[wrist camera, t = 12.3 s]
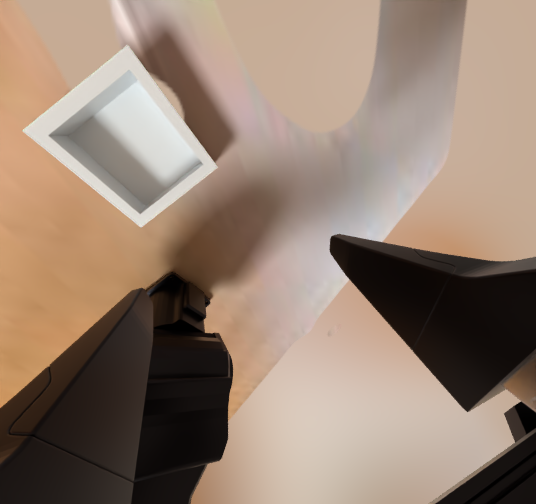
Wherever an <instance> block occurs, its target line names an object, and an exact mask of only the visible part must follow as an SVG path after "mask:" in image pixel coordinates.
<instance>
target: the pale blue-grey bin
mask: <svg viewBox="0 0 536 504" xmlns="http://www.w3.org/2000/svg"><path fill="white" fill-rule="evenodd" d="M22 131H23V132H24V133H26V134H27V135H28V136H29V137H31V138H32V139H33V140H34V141H35V142H37V143H38V144H39V145H40V146H42V147H43V148H44V149H45V150H46V151H48V152H49V153H50V154H51V155H53V156H54V157H55V158H56V159H57V160H59V161H60V162H61V163H62V164H64V165H65V166H66V167H67V168H69V169H70V170H71V171H72V172H73V173H75V174H76V175H77V176H78V177H80V178H81V179H82V180H83V181H84V182H86V183H87V184H88V185H89V186H91V187H92V188H93V189H94V190H96V191H97V192H98V193H99V194H100V195H102V196H103V197H104V198H105V199H107V200H108V201H109V202H110V203H111V204H113V205H114V206H115V207H116V208H118V209H119V210H120V211H121V212H123V213H124V214H125V215H126V216H127V217H129V218H130V219H131V220H132V221H134V222H135V223H136V224H137V225H138V226H140V227H143V226H144V225H145V224H146V223H148V222H149V221H150V220H152V219H153V218H154V217H155V216H157V215H158V214H159V213H160V212H162V211H163V210H164V209H166V208H167V207H168V206H169V205H171V204H172V203H173V202H175V201H176V200H177V199H178V198H180V197H181V196H182V195H183V194H185V193H186V192H187V191H189V190H190V189H191V188H192V187H194V186H195V185H196V184H197V183H199V182H200V181H201V180H203V179H204V178H205V177H206V176H208V175H209V174H210V173H212V172H213V171H214V170H215V169H217V168H218V167H217V165H216V164H215V163H214V161H213V160H212V159H211V157H210V156H209V155H208V153H207V152H206V150H205V149H204V148H203V146H202V145H201V144H200V142H199V141H198V140H197V138H196V137H195V136H194V134H193V133H192V131H191V130H190V129H189V127H188V126H187V125H186V123H185V122H184V121H183V119H182V118H181V117H180V115H179V114H178V113H177V111H176V110H175V108H174V107H173V106H172V104H171V103H170V102H169V100H168V99H167V98H166V96H165V95H164V94H163V92H162V91H161V89H160V88H159V87H158V85H157V84H156V83H155V81H154V80H153V78H152V77H151V76H150V74H149V73H148V72H147V70H146V69H145V68H144V66H143V65H142V64H141V62H140V61H139V59H138V58H137V57H136V55H135V54H134V53H133V51H132V50H131V49H130V47H129V46H128V45H127V46H125V47H124V48H123V49H122V50H120V51H119V52H118V53H117V54H116V55H114V56H113V57H112V58H111V59H109V60H108V61H107V62H106V63H105V64H103V65H102V66H101V67H100V68H98V69H97V70H96V71H95V72H93V73H92V74H91V75H90V76H89V77H87V78H86V79H85V80H84V81H82V82H81V83H80V84H79V85H77V86H76V87H75V88H74V89H73V90H71V91H70V92H69V93H68V94H66V95H65V96H64V97H63V98H61V99H60V100H59V101H58V102H57V103H55V104H54V105H53V106H52V107H50V108H49V109H48V110H47V111H45V112H44V113H43V114H42V115H41V116H39V117H38V118H37V119H36V120H34V121H33V122H32V123H31V124H30V125H28V126H27V127H26V128H25V129H23V130H22Z"/></svg>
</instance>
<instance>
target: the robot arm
mask: <svg viewBox="0 0 536 504" xmlns="http://www.w3.org/2000/svg"><path fill="white" fill-rule="evenodd" d="M330 253H331V255H332V256H333V258H334V259H335V261H336V262H337V263H338V265H339V266H340V268H341V269H342V270H343V272H344V273H345V275H346V276H347V277H348V278H349V279H350V280H351V282H352V283H353V284H354V285H355V286H356V287H357V288H358V290H359V291H360V292H361V293H362V294H363V295H364V296H365V297H366V299H367V300H368V301H369V302H370V303H371V304H372V305H373V307H374V308H375V309H376V310H377V311H378V312H379V313H380V314H381V315H382V317H383V318H384V319H385V320H386V321H387V322H388V324H389V325H390V326H391V327H392V328H393V329H394V330H395V331H396V333H397V334H398V335H399V336H400V337H401V338H402V339H403V341H405V343H406V344H407V345H408V346H409V347H410V349H411V350H413V352H414V353H415V354H416V356H417V357H418V358H419V359H420V360H421V361H422V362H423V363H424V365H425V366H426V367H427V368H428V369H429V370H430V371H431V373H432V374H433V375H434V376H435V377H436V378H437V379H438V380H439V382H440V383H441V384H442V385H443V386H444V387H445V388H446V390H447V391H448V392H449V393H450V394H451V395H452V396H453V398H454V399H455V400H456V401H457V402H458V403H459V404H460V405H461V406H462V408H464V409H465V410H466V411H467V412H469V411H471V410H472V409H474V408H476V407H477V406H479V405H481V404H482V403H484V402H486V401H487V400H489V399H490V398H492V397H494V396H495V395H497V394H499V393H500V392H502V391H504V390H505V389H507V390H508V391H509V392H511V393H512V394H513V395H514V396H516V397H517V398H518V399H519V400H521V402H520V403H518V404H516V405H515V406H513V407H512V408H511V409H509V410H508V411H507V412H505V413H504V415H505V417H506V420H507V422H508V425H509V427H510V430H511V433H512V435H513V437H514V440H515V443H514V444H513V445H511V446H510V447H508V448H507V449H506V450H504V451H503V452H501V453H500V454H498V455H497V456H496V457H494V458H493V459H492V460H490V461H489V462H487V463H486V464H484V465H483V466H482V467H480V468H479V469H477V470H476V471H474V472H473V473H472V474H470V475H469V476H467V477H466V478H465V479H463V480H462V481H460V482H459V483H458V484H456V485H455V486H453V487H452V488H450V489H449V490H447V491H446V492H445V493H443V494H442V495H440V496H439V497H438V498H436V499H435V500H433V501H432V502H430V503H429V504H536V257H533V258H527V259H522V260H516V261H503V262H501V261H488V260H481V259H475V258H468V257H461V256H454V255H448V254H442V253H436V252H430V251H424V250H420V249H412V248H408V247H404V246H398V245H393V244H387V243H383V242H378V241H373V240H367V239H362V238H357V237H352V236H347V235H341V234H337V235H333V236H332V237H331V239H330ZM171 276H173V277H174V278H170V277H171ZM206 301H207V302H206ZM209 304H210V299H209V298H208V297H207V296H205V295H204V293H203V292H202V291H201V290H200V289H198V288H197V287H196V286H194V285H193V284H192V283H190V282H187V281H185V280H184V279H183V278H181V277H180V276H179V275H177V274H176V273H173V272H171V273H169V274H167V275H166V276H165V277H164V278H162V279H161V280H160V281H158V282H157V283H156V284H155V285H153V286H152V287H151V288H149V289H148V290H147V291H145V289H143V288H139V289H136V290H132V291H131V292H130V293H129V294H127V295H126V296H125V297H124V298H123V299H122V300H121V301H120V302H119V303H117V304H116V305H115V306H114V307H113V308H112V309H111V310H110V311H109V312H107V313H106V314H105V315H104V316H103V317H102V318H101V319H100V320H99V321H98V322H96V323H95V324H94V325H93V326H92V327H91V328H90V329H89V330H88V331H86V332H85V333H84V334H83V335H82V336H81V337H80V338H79V339H78V340H77V341H75V342H74V343H73V344H72V345H71V346H70V347H69V348H68V349H67V350H65V351H64V352H63V353H62V354H61V355H60V356H59V357H58V358H57V359H56V360H54V361H53V362H52V363H51V364H50V367H47V368H45V369H44V370H43V371H42V372H41V373H40V374H39V375H38V376H37V377H36V378H34V379H33V380H32V381H31V382H30V383H29V384H28V385H27V386H25V387H24V388H23V389H22V390H21V391H20V392H19V393H17V394H16V395H15V396H14V397H13V398H12V399H10V400H9V401H8V402H7V403H6V404H5V405H3V406H2V407H1V408H0V504H190V503H191V498H192V495H193V493H194V491H195V489H196V487H197V485H198V483H199V481H200V479H201V477H202V474H203V472H204V470H205V468H206V466H207V464H209V463H213V462H217V461H219V460H220V459H221V458H222V455H223V453H224V450H225V447H226V444H227V440H228V403H229V393H230V389H231V385H232V379H233V364H232V359H231V356H230V354H229V352H228V350H227V348H226V346H225V344H224V342H223V340H222V338H221V336H220V334H219V333H213V334H212V333H205V329H204V319H205V318H206V307H207V306H208V305H209Z"/></svg>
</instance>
